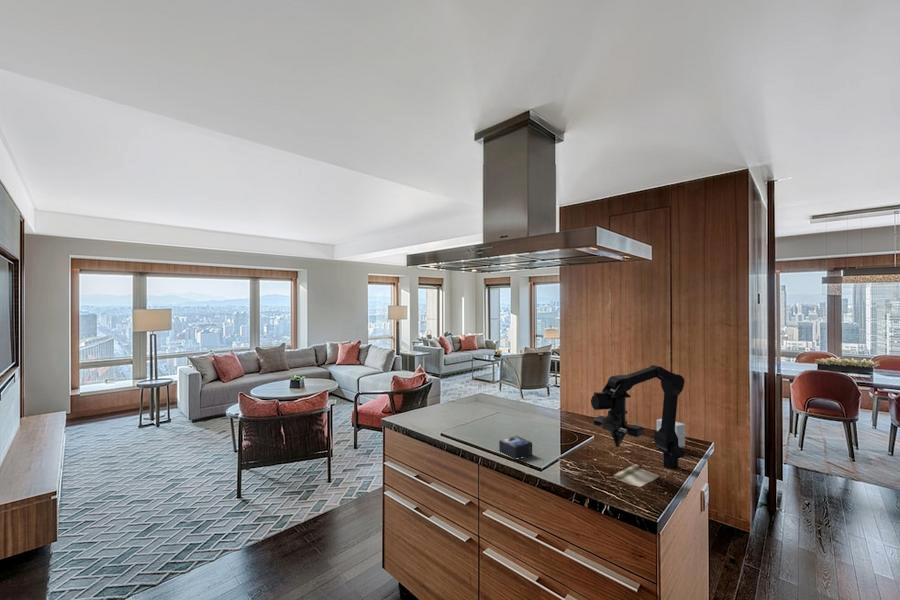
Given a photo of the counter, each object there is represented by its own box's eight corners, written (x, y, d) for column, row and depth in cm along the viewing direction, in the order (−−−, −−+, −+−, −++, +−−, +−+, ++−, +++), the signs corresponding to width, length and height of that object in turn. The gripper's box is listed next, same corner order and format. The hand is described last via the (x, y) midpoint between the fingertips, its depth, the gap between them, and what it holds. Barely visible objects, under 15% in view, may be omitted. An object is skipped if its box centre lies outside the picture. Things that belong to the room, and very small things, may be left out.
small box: (532, 441, 165) (515, 447, 160) (533, 456, 165) (515, 462, 160) (515, 434, 174) (498, 439, 168) (516, 448, 174) (499, 454, 168)
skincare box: (685, 446, 176) (685, 423, 176) (677, 448, 173) (677, 425, 173) (664, 438, 186) (664, 417, 186) (655, 441, 183) (655, 419, 183)
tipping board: (635, 467, 154) (635, 464, 154) (659, 476, 146) (659, 472, 146) (613, 478, 145) (613, 474, 145) (638, 489, 137) (638, 484, 137)
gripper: (585, 406, 154) (585, 444, 154) (629, 418, 139) (629, 460, 139) (601, 402, 161) (601, 438, 161) (644, 412, 146) (644, 452, 146)
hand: (617, 446), depth 152 cm, fingers closed
